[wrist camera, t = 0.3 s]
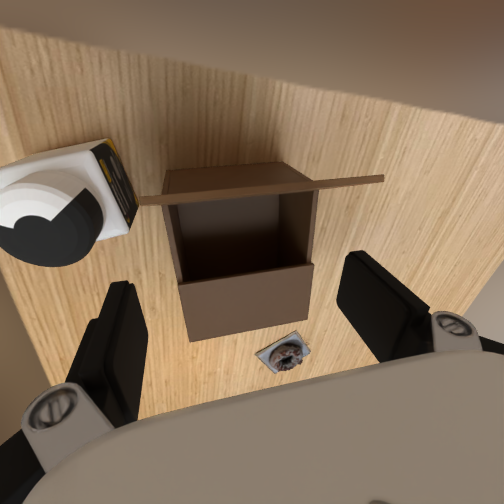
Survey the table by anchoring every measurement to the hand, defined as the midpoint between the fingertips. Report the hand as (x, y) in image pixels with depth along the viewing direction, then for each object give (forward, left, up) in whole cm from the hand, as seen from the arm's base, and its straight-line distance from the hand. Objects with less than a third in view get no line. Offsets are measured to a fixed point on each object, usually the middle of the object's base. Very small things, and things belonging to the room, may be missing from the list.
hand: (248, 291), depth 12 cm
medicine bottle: (0, -12, -21) cm, 24 cm away
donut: (+33, +10, -21) cm, 40 cm away
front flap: (-2, +2, -7) cm, 8 cm away
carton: (+7, +2, -21) cm, 22 cm away
